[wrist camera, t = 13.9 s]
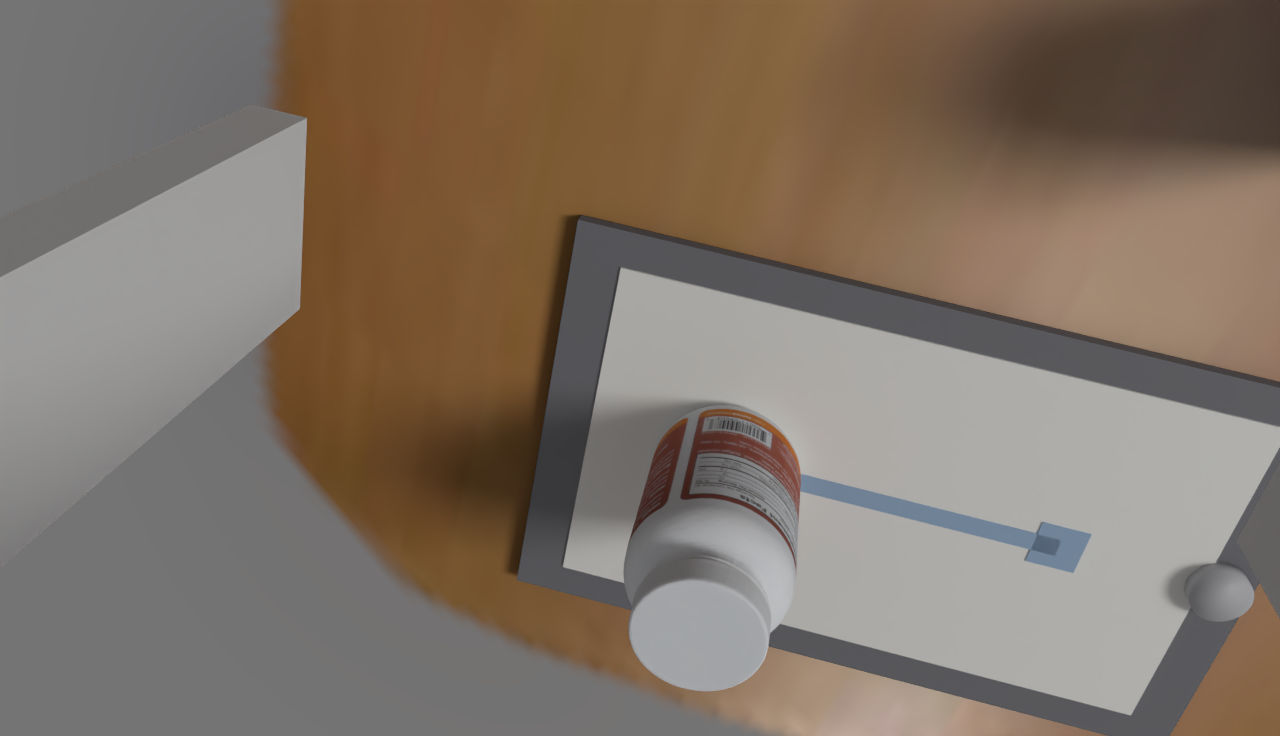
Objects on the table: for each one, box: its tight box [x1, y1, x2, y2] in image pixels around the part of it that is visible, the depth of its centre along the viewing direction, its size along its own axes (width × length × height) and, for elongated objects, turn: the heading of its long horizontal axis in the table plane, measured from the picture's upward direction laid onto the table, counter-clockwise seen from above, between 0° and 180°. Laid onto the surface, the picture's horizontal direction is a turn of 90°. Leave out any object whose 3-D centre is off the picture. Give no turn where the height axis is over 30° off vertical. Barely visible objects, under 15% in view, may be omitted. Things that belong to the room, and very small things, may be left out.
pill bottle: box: [623, 405, 801, 691], centre depth 40 cm, size 6×6×11 cm
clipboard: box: [517, 215, 1280, 736], centre depth 44 cm, size 18×30×1 cm, turn 79°
